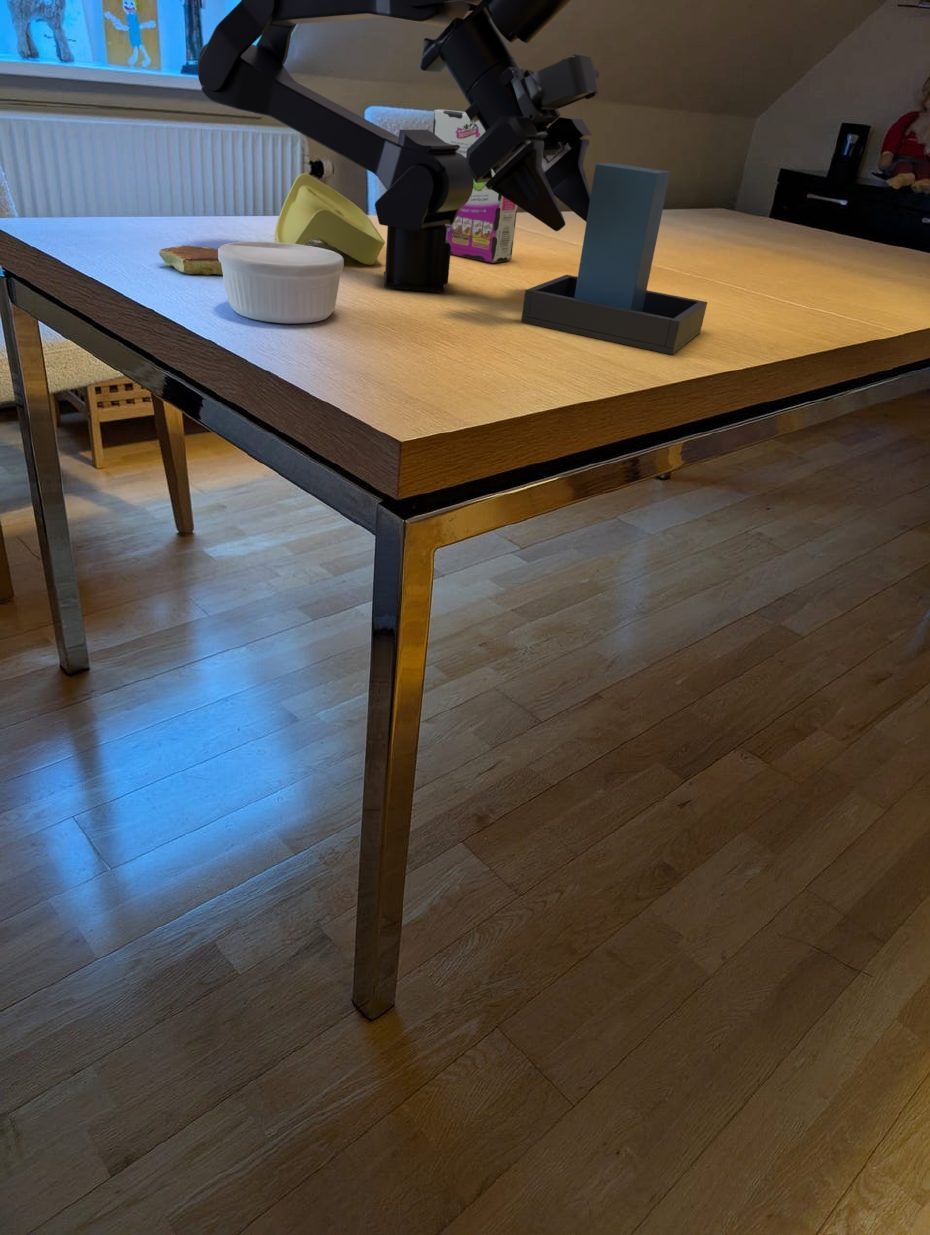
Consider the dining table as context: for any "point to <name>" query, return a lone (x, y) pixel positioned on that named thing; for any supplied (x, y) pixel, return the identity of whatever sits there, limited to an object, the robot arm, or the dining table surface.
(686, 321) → the dark grey tray
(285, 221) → the plastic component
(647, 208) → the blue rectangular block
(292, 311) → the ramekin
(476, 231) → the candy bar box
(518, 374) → the dining table surface
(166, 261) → the brown and green slab
